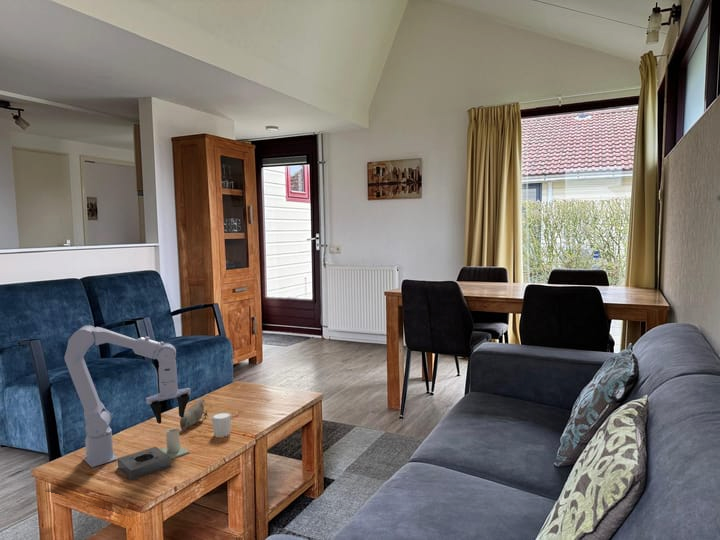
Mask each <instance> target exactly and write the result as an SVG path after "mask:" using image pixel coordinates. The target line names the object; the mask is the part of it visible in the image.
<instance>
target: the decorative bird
mask: <svg viewBox="0 0 720 540" xmlns="http://www.w3.org/2000/svg"><path fill="white" fill-rule="evenodd" d="M205 402H206V400H205V399H204V398H202V399H199V400H198V401H197V402H196V404H193V405H192V406H190V407H189V408H188V410H187V411H186V412H184V417H182V418H181V417H180V420H179V425H180V430H181V431H182V432H183V433H184V432H185V431H186V430H187V428H188V427H190V426H194V425H195V424H198V422H199V421H200V420H201V418H202V417H207V416H208V413H207V411H208V410H206V411H205V408H204V407H205V406H204V403H205ZM203 414H204V415H203Z"/></svg>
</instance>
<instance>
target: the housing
mask: <svg viewBox="0 0 720 540" xmlns="http://www.w3.org/2000/svg"><path fill="white" fill-rule="evenodd" d="M160 449H161V448H159V447H157V446H153V447H150V448H147V449H144V450H143V449H142V450H140V451H137V452H134V453H131V454H127V455H124V456H120V457H117V458H118V459H117V468H118V470H120V471H121V472H122V473H123V474H124V475H126V477H128V478H129V479H130V480H131V481H133V480H136V479H139V478H142V477H146V476H149V475H151V474H154V473H157V472H160V471H163V470H166V469H169V468H172V459H171V457H170V456H168V455H167V454H165V453H164V452H163V451H161V450H160Z"/></svg>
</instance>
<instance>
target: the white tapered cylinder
mask: <svg viewBox="0 0 720 540" xmlns="http://www.w3.org/2000/svg"><path fill="white" fill-rule="evenodd" d="M231 421H232V414H231V413H229V412H218V413H214V414H212V415H211V422H212V423H211V424H212V428H213V429H212V430H213V435H215V436H216V437H215V436H214V437H215V438H225V437H224V436H226V437H228V436H229V434H230V435H231V428H232V427H231V426H232V425H231V424H232V423H231ZM227 435H228V436H227Z"/></svg>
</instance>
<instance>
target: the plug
mask: <svg viewBox="0 0 720 540" xmlns="http://www.w3.org/2000/svg"><path fill="white" fill-rule="evenodd" d="M165 436H166V439H165V440H166V448H167V452H168V453H176V452H179V451H180V446H181V444H180V443H181V441H180V429H179V428H177V427H172V428H169V429H166V431H165Z"/></svg>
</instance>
